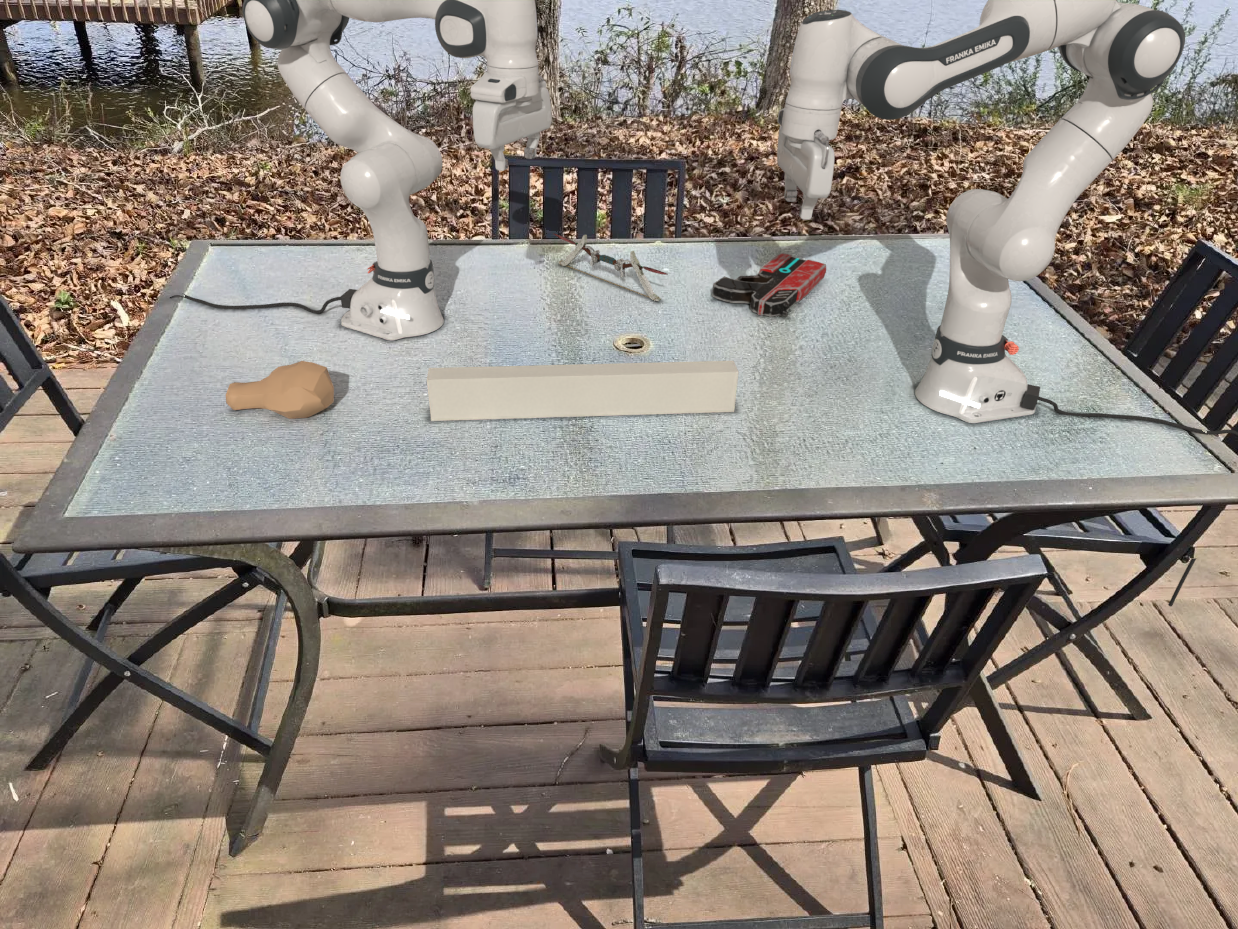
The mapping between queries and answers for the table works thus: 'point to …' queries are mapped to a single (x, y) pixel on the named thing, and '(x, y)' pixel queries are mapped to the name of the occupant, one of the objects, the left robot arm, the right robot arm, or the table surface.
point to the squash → (286, 391)
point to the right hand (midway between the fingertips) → (797, 209)
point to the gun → (772, 285)
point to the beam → (581, 390)
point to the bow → (618, 264)
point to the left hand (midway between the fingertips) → (516, 163)
